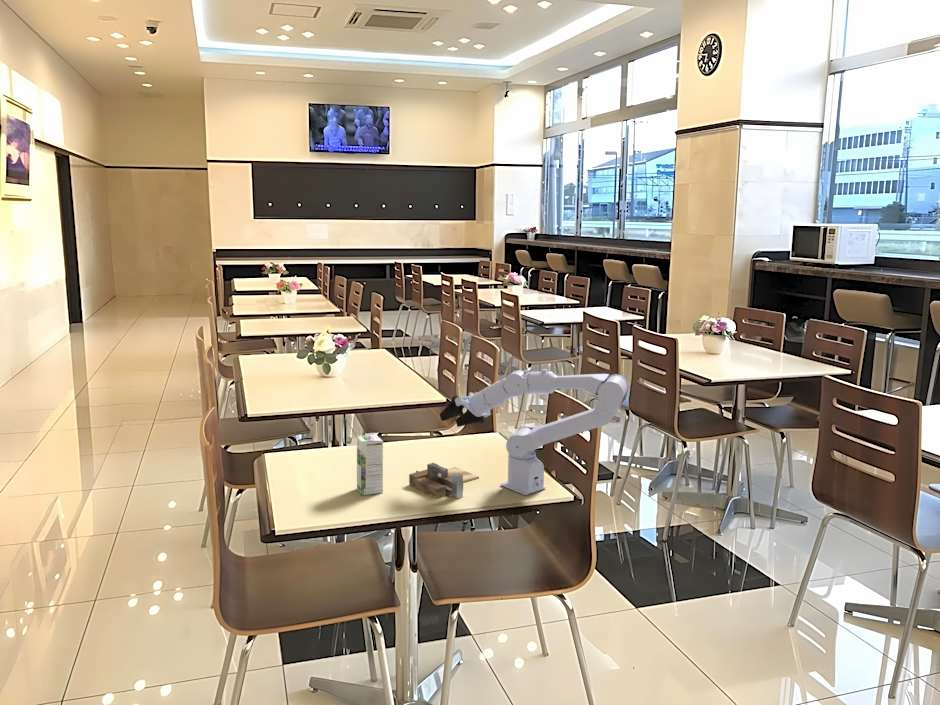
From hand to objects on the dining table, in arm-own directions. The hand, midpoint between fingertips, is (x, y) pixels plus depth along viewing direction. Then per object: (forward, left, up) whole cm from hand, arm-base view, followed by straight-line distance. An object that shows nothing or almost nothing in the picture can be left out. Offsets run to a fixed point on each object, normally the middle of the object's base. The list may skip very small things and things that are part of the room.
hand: (449, 420), depth 211 cm
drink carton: (+5, +23, -16) cm, 28 cm away
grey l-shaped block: (-10, +8, -16) cm, 21 cm away
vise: (-3, +8, -16) cm, 18 cm away
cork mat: (-1, -2, -16) cm, 16 cm away
